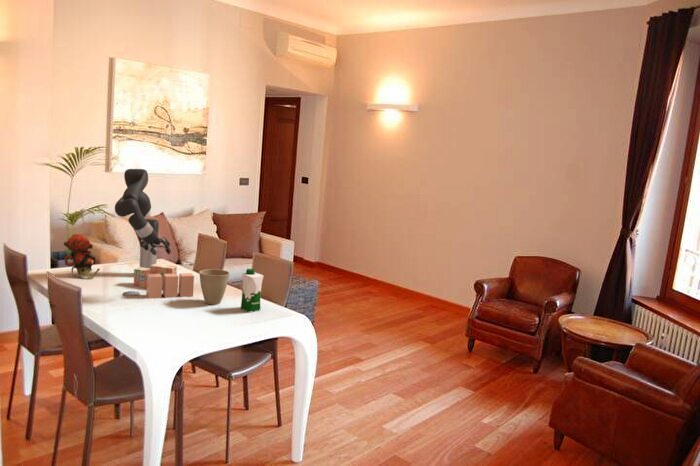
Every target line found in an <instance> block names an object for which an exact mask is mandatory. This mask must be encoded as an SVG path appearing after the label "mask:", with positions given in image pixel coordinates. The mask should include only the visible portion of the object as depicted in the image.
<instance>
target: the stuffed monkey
mask: <svg viewBox="0 0 700 466" xmlns="http://www.w3.org/2000/svg"><path fill="white" fill-rule="evenodd" d="M63 245H64V246H65V247H67V248H68V250H69V251H71V252H73V256H72V255H71V254H70V255H69V254H68V255H66V256H65V257H64V264H65V266H68V267H71V274H72V277H73V276H74V269H76V271H77V274H78V276H85V277H87V278H88V279H89V280H93V279H94V278H95V277H96V275H97V274H98V273H99V271H100V270H101V268H97V270H96V271H95V272H93V276H92V275H90V273H91V271H93V270H92V266H93V265H94V260H93V259H91V257H90V256H89V255H91V254H92V251H90V250H89V249H93V247H94V246H93V245H94V244H92V243H91V241H90V239H88V237H87V236H85V235H83V234H81V233H80V234H79V233H75V234H73V235H72V236H70V237H69V238H68V239H67V241H64V242H63ZM68 258H70V260H71V261H72V262H69V260H68ZM74 277H75V276H74Z"/></svg>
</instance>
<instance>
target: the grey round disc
mask: <svg viewBox="0 0 700 466" xmlns="http://www.w3.org/2000/svg"><path fill="white" fill-rule="evenodd" d="M140 294H141V293H140V292H139V291H135V290H134V291H132V290H130V291H129V290H128V291H124V292H122V295H123V296H125V297H136V296H139V295H140Z"/></svg>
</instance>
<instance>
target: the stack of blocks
mask: <svg viewBox="0 0 700 466" xmlns="http://www.w3.org/2000/svg"><path fill="white" fill-rule="evenodd" d="M177 267H178V266H176V265H171V264H164V263H163V264H162V263H161V264H160V263H156V264H153V265H151V268H143V267H139V266H138V267H136V268H133V270H134V271H133V286H134V287H135V286H136V287H141V288H143V287H144V288H147V274H160V275H161V276H162V290H163V276H164V274H177V273H178V272H177V271H178V268H177ZM177 275H178V274H177Z"/></svg>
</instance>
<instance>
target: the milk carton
mask: <svg viewBox="0 0 700 466" xmlns="http://www.w3.org/2000/svg"><path fill="white" fill-rule="evenodd" d="M241 275H242V276H241V277H242V278H241V279H242V289H241V290H242V292H241V301H240V309H241V310H243V309H244V310H243V311H245V310H247V311H246V312H248V311H253V312H256V311H255V310H258V311H260V310H261V298H262V297H261V296H262V295H261V294H262V283H263V280H264V276H265V275H263V274H261V273H257V272H255V269H254V268H246V271H245V272H244V273H242V274H241ZM259 309H260V310H259Z"/></svg>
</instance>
